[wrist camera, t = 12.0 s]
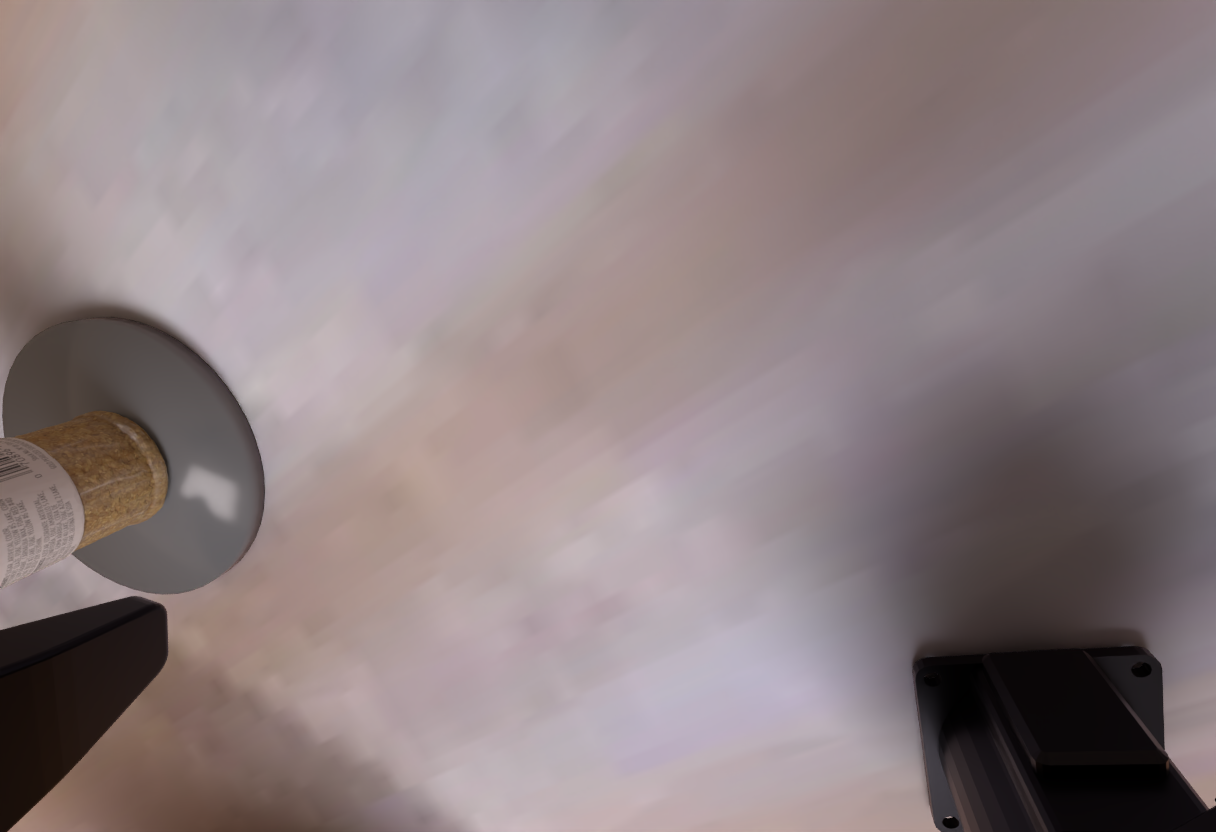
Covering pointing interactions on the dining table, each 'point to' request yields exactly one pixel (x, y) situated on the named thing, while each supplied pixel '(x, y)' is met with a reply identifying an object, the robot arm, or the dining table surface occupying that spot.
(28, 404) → the slate gray plate
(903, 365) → the dining table surface
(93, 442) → the sprinkles bottle
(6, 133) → the dining table surface
